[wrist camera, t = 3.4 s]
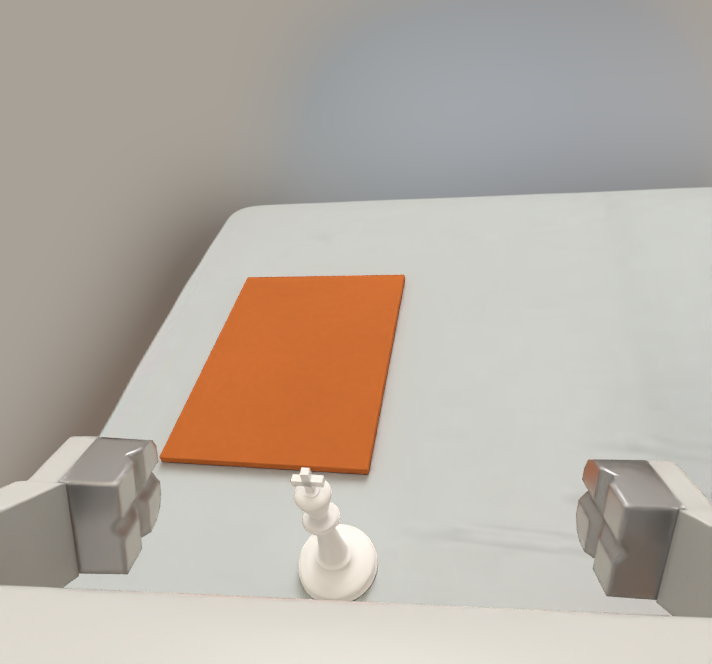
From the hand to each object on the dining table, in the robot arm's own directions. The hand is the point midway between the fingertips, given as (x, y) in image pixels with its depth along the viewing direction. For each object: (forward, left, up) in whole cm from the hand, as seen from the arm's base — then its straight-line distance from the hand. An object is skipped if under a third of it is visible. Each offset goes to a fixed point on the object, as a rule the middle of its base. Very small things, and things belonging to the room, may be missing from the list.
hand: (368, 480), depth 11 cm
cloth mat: (-13, -28, -25) cm, 40 cm away
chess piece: (-4, -12, -26) cm, 28 cm away
